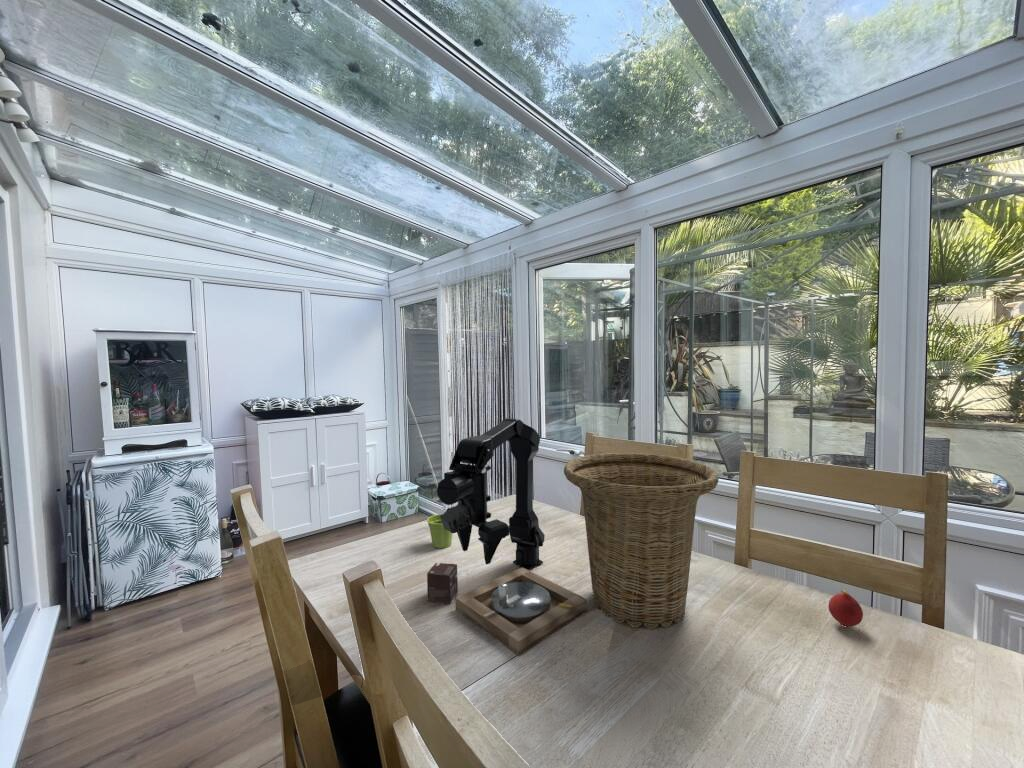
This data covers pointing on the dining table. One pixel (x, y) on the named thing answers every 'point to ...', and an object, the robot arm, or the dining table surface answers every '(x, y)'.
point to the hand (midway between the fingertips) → (476, 557)
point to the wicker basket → (640, 531)
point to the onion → (845, 609)
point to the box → (442, 583)
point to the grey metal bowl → (520, 601)
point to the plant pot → (439, 532)
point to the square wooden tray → (528, 634)
